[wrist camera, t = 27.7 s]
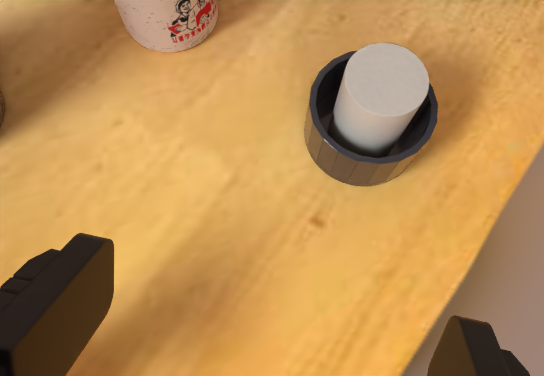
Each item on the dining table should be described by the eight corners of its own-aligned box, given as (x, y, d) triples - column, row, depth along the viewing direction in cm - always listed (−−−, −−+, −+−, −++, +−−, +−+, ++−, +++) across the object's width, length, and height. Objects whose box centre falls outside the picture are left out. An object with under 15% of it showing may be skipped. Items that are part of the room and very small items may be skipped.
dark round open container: (284, 111, 39) (287, 79, 34) (378, 67, 41) (393, 31, 36) (340, 206, 37) (351, 185, 32) (438, 155, 38) (463, 129, 33)
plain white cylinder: (316, 117, 38) (328, 62, 31) (373, 90, 39) (399, 30, 32) (350, 174, 37) (372, 130, 29) (409, 144, 38) (445, 94, 30)
